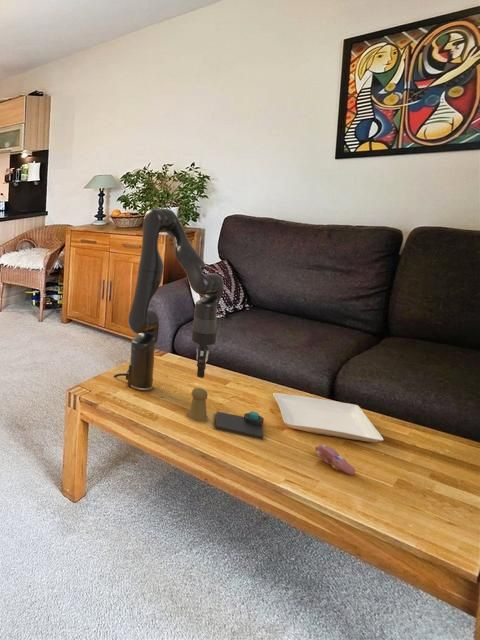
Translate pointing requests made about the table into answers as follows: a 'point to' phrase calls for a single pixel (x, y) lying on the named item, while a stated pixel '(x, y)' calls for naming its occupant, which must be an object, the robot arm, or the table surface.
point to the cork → (198, 405)
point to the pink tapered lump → (334, 459)
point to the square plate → (326, 417)
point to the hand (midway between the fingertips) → (201, 373)
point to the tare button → (253, 415)
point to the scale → (240, 425)
